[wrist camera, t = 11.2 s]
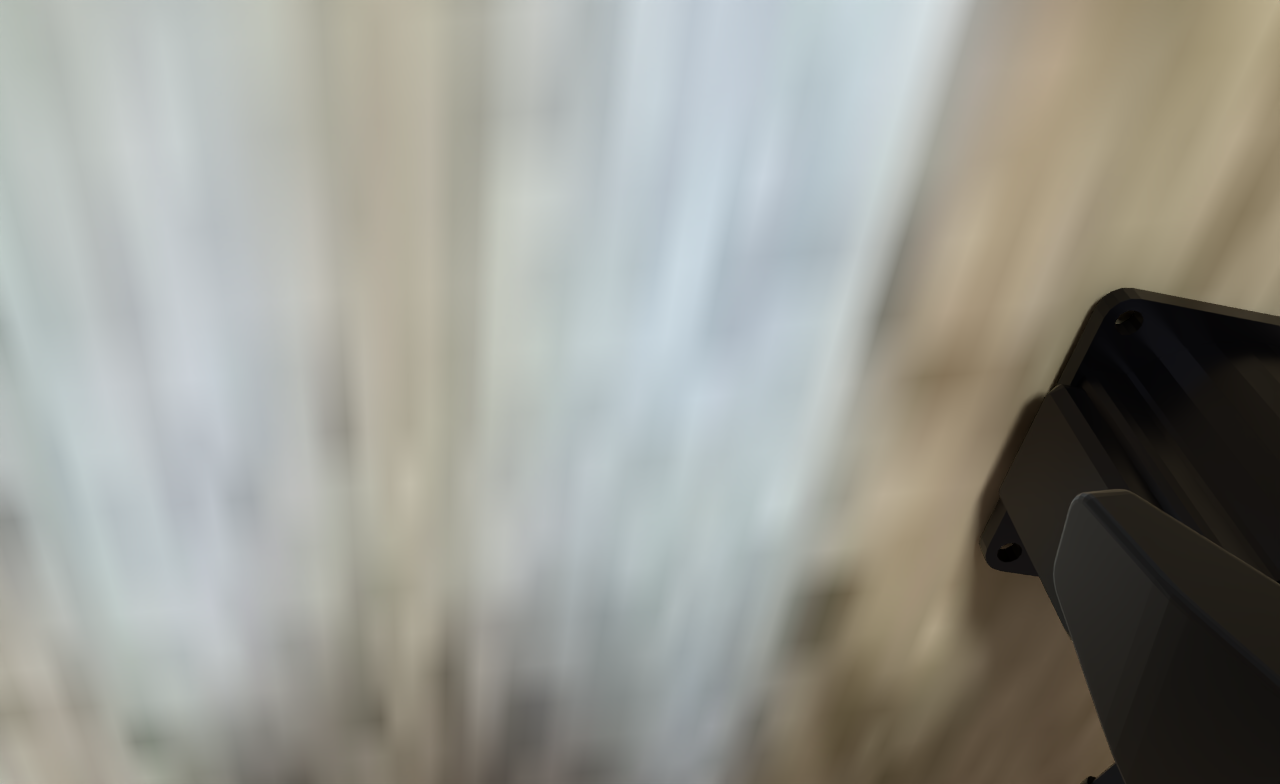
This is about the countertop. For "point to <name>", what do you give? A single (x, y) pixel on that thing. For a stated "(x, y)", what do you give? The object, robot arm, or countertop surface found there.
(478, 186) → the countertop surface
